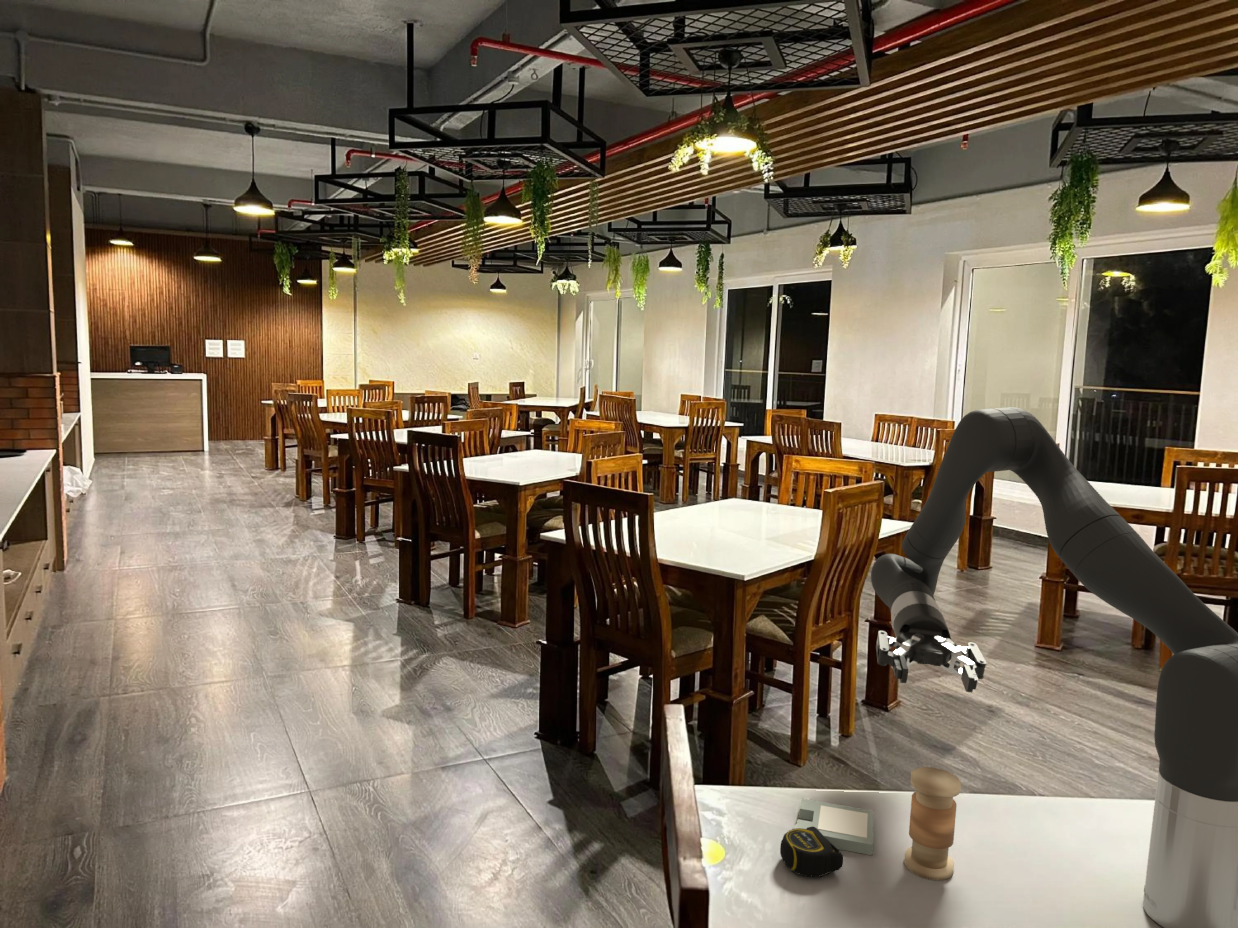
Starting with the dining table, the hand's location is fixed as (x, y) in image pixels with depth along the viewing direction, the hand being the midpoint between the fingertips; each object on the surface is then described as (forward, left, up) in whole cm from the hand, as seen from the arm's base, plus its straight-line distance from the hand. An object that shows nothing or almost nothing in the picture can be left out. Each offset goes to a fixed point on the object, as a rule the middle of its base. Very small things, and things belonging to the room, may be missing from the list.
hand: (937, 681), depth 116 cm
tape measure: (+15, +12, -22) cm, 29 cm away
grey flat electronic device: (+12, +3, -22) cm, 25 cm away
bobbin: (0, +7, -22) cm, 23 cm away
